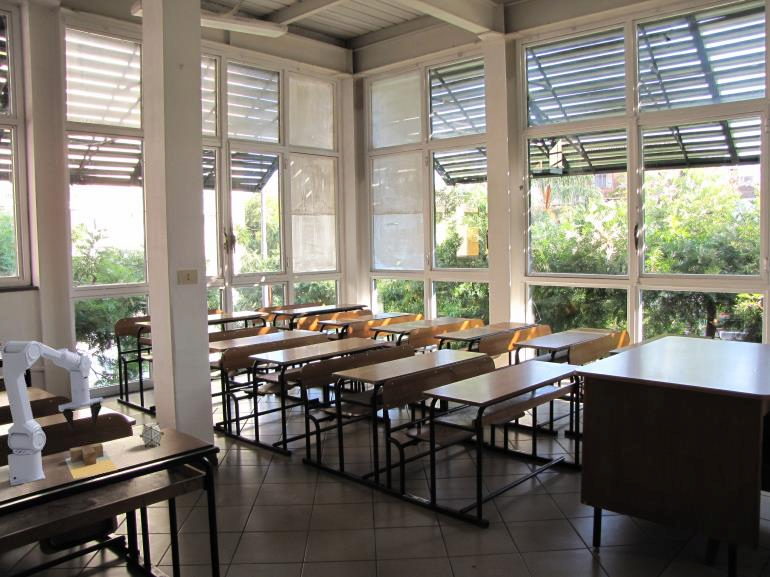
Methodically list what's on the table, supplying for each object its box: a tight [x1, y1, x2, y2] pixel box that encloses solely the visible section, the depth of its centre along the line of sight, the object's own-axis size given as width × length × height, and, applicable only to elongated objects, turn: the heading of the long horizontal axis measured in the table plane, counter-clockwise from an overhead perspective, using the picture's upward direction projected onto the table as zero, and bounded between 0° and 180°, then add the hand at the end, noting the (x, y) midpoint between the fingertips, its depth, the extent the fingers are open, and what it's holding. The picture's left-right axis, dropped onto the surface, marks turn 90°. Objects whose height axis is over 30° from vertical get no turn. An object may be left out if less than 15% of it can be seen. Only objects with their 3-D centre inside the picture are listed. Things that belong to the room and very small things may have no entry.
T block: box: [69, 442, 104, 466], centre depth 223 cm, size 10×10×4 cm
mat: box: [64, 450, 118, 480], centre depth 220 cm, size 13×24×1 cm, turn 32°
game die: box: [138, 422, 165, 448], centre depth 238 cm, size 9×8×10 cm
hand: (83, 427), depth 231 cm, fingers open, 7 cm apart
